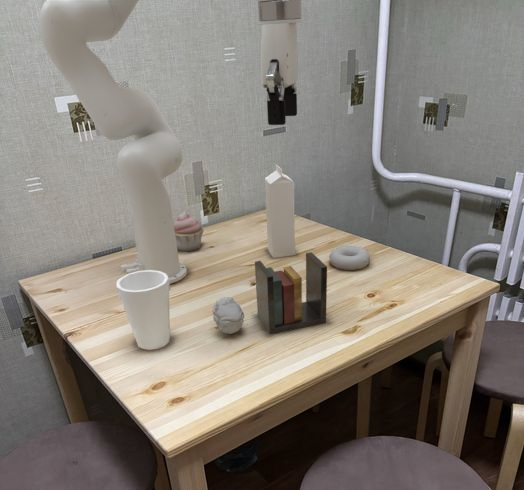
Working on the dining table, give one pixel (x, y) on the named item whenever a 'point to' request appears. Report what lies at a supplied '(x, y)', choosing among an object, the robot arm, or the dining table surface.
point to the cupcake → (188, 232)
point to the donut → (349, 257)
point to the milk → (280, 214)
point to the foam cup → (147, 306)
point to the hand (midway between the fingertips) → (283, 120)
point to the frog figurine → (228, 315)
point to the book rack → (291, 296)
